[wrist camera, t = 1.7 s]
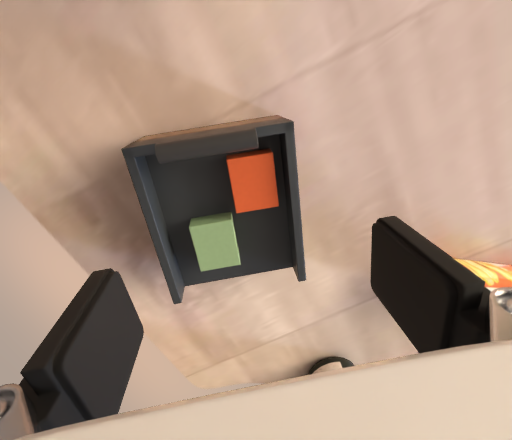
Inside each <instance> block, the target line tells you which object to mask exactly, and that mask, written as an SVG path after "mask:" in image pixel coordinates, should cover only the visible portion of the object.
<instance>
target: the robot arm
mask: <svg viewBox="0 0 512 440" xmlns="http://www.w3.org/2000/svg"><path fill="white" fill-rule="evenodd" d="M371 287H372V289H373V291H374V293H375V294H376V296H377V297H378V298H379V300H380V301H381V302H382V304H383V305H384V306H385V308H386V309H387V310H388V312H389V313H390V314H391V316H392V317H393V318H394V320H395V321H396V322H397V324H398V325H399V326H400V328H401V329H402V330H403V332H404V333H405V334H406V336H407V337H408V338H409V340H410V341H411V343H412V344H413V345H414V347H415V348H416V349H417V351H418V352H419V354H414V355H408V356H403V357H397V358H392V359H387V360H382V361H377V362H372V363H367V364H362V365H356V366H351V367H346V368H341V369H336V370H331V371H326V372H321V373H316V374H311V375H306V376H301V377H296V378H291V379H286V380H281V381H276V382H271V383H266V384H261V385H256V386H251V387H246V388H241V389H236V390H231V391H226V392H222V393H217V394H211V395H206V396H202V397H197V398H192V399H187V400H182V401H177V402H173V403H168V404H163V405H158V406H154V407H149V408H144V409H139V410H134V411H129V412H125V413H120V414H118V412H119V409H120V406H121V402H122V399H123V396H124V393H125V390H126V387H127V384H128V381H129V378H130V375H131V372H132V369H133V366H134V363H135V360H136V357H137V354H138V350H139V347H140V344H141V341H142V338H143V333H144V331H143V326H142V323H141V321H140V319H139V317H138V314H137V312H136V310H135V307H134V305H133V303H132V301H131V298H130V296H129V294H128V291H127V289H126V287H125V285H124V282H123V280H122V278H121V275H120V274H119V272H117V271H116V272H114V270H113V269H111V268H110V269H105V270H99V271H94V272H93V273H92V274H91V275H90V276H89V278H88V279H87V281H86V282H85V283H84V285H83V286H82V288H81V289H80V291H79V292H78V293H77V294H76V296H75V297H74V299H73V300H72V301H71V303H70V304H69V305H68V307H67V308H66V310H65V311H64V312H63V314H62V315H61V317H60V318H59V319H58V321H57V322H56V324H55V325H54V326H53V328H52V329H51V331H50V332H49V333H48V335H47V336H46V338H45V339H44V340H43V342H42V343H41V344H40V346H39V347H38V348H37V350H36V351H35V353H34V354H33V355H32V357H31V359H30V360H29V361H28V362H27V364H26V365H25V367H24V368H23V369H22V371H21V374H22V376H23V377H24V378H23V380H22V381H21V383H20V384H19V385H17V384H5V385H2V386H0V440H512V287H501V288H497V289H494V290H493V291H492V292H491V291H490V290H489V289H487V288H486V287H485V281H484V280H482V279H481V278H479V277H478V276H477V275H475V274H474V273H473V272H471V271H470V270H468V269H467V268H466V267H464V266H463V265H462V264H460V263H459V262H458V261H456V260H455V259H453V258H452V257H451V256H449V255H448V254H447V253H445V252H444V251H442V250H441V249H440V248H438V247H437V246H436V245H434V244H433V243H432V242H430V241H429V240H427V239H426V238H425V237H423V236H422V235H421V234H419V233H418V232H416V231H415V230H414V229H412V228H411V227H410V226H408V225H407V224H406V223H404V222H403V221H401V220H400V219H399V218H397V217H396V216H390V217H385V218H379V219H378V220H377V222H376V223H374V224H373V226H372V252H371Z"/></svg>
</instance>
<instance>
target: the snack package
mask: <svg viewBox="0 0 512 440" xmlns="http://www.w3.org/2000/svg"><path fill="white" fill-rule="evenodd" d="M453 259H455V258H453ZM455 260H456V261H458V262H459V263H460V264H462V265H463V266H464V267H466V268H467V269H468V270H470V271H471V272H473V273H474V274H475V275H477V276H478V277H479V278H481V279H482V280H484V281H485V287H486V288H487V289H489V290H490V291H491V292H492V291H493V290H494V289H497V288H501V287H512V265H505V264H497V263H488V262H480V261H472V260H462V259H455Z"/></svg>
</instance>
